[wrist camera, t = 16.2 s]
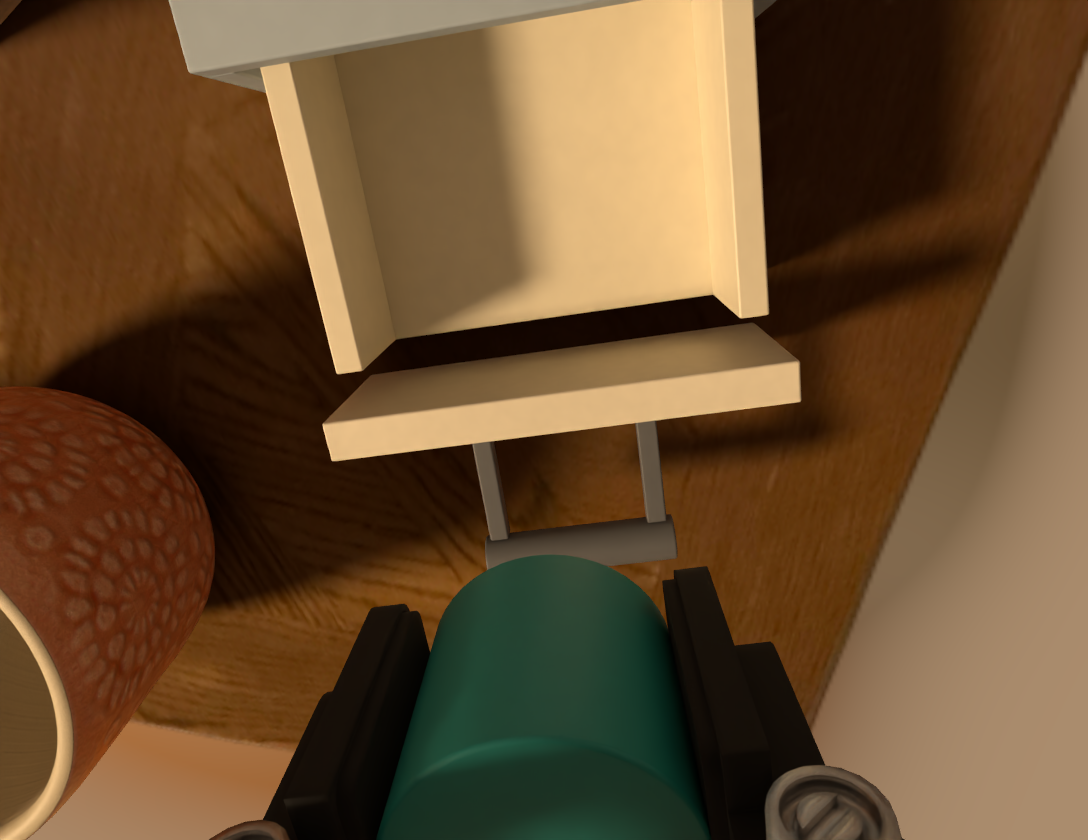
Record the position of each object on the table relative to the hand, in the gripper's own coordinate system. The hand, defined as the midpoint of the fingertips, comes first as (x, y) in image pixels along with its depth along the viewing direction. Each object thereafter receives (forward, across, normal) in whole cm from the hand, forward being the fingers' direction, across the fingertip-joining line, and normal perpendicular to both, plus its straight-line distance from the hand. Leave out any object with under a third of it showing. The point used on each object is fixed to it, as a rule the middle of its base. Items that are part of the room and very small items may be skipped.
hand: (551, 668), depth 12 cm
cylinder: (0, 0, 0) cm, 0 cm away
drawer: (+15, 0, -5) cm, 15 cm away
